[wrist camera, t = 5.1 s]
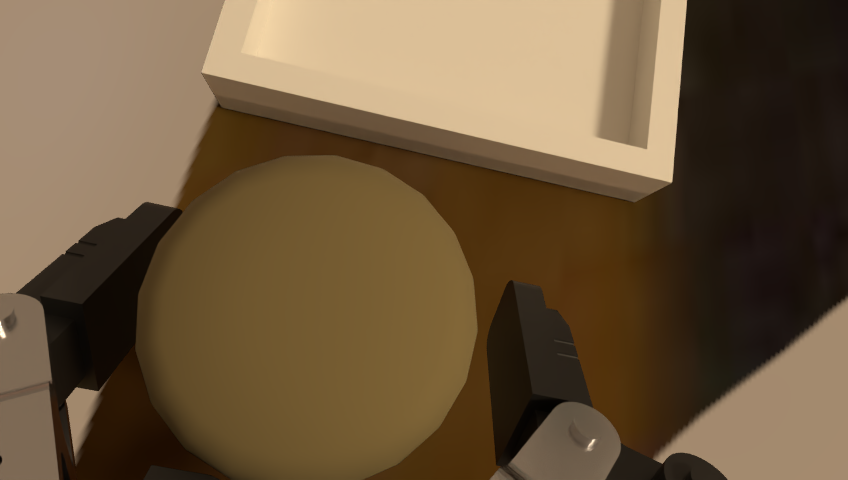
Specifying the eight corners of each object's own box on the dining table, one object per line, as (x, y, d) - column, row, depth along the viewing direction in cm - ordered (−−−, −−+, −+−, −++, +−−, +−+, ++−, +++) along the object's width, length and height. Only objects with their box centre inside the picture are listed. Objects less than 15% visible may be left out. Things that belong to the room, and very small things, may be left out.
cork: (300, 217, 18) (206, 23, 7) (454, 287, 18) (591, 200, 7) (216, 379, 16) (-60, 444, 6) (384, 453, 16) (428, 651, 6)
